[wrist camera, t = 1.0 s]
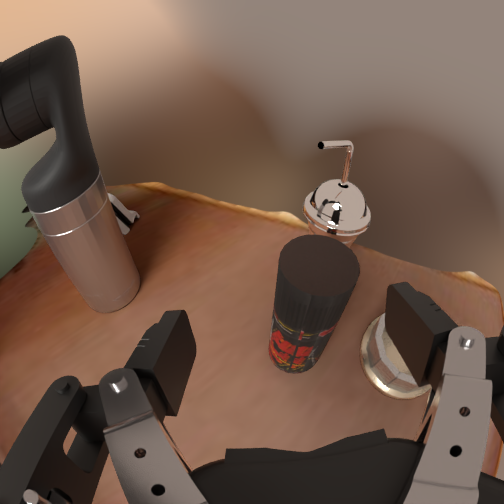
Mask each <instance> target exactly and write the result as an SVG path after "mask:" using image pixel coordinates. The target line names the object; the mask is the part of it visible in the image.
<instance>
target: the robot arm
mask: <svg viewBox="0 0 504 504" xmlns="http://www.w3.org/2000/svg"><path fill="white" fill-rule="evenodd" d="M53 127H54V128H55V130H56V141H55V142H54V144H53V145H52V147H51V148H50V150H49V151H48V152H47V153H46V154H45V156H44V157H42V158H41V160H39V161H38V162H37V163H36V164H35V165H34V166H33V167H32V168H31V170H30V171H29V172H28V173H27V175H26V176H25V178H24V180H23V182H22V194H23V197H24V199H25V201H26V203H27V205H28V208H29V209H30V211H31V213H32V215H33V217H34V219H35V221H36V223H37V225H38V227H39V229H40V230H41V232H42V234H43V236H44V237H45V239H46V241H47V243H48V244H49V246H50V248H51V249H52V251H53V253H54V254H55V256H56V258H57V259H58V261H59V263H60V264H61V266H62V267H63V269H64V270H65V272H66V273H67V275H68V277H69V278H70V280H71V281H72V282H73V284H74V285H75V287H76V288H77V290H78V291H79V293H80V294H81V296H82V297H83V298H84V300H85V301H86V302H87V304H88V305H89V306H90V307H91V308H92V309H93V310H95V311H98V312H102V313H109V312H113V311H116V310H119V309H121V308H123V307H124V306H126V305H127V304H128V303H129V302H130V301H131V300H132V299H133V298H134V297H135V295H136V293H137V292H138V290H139V286H140V275H139V272H138V270H137V268H136V265H135V263H134V261H133V259H132V256H131V254H130V251H129V249H128V246H127V244H126V241H125V239H124V236H123V234H122V231H121V229H120V226H119V224H118V221H117V218H116V216H115V213H114V210H113V208H112V205H111V202H110V199H109V196H108V193H107V191H106V188H105V185H104V182H103V179H102V176H101V172H100V169H99V166H98V163H97V160H96V157H95V153H94V151H93V147H92V143H91V139H90V136H89V132H88V127H87V123H86V118H85V114H84V108H83V100H82V93H81V85H80V76H79V69H78V61H77V57H76V53H75V49H74V46H73V44H72V42H71V41H70V39H69V38H67V37H66V36H56V37H53V38H50V39H48V40H45V41H43V42H41V43H38V44H36V45H34V46H32V47H30V48H28V49H26V50H24V51H22V52H20V53H18V54H16V55H14V56H12V57H11V58H9V59H7V60H5V61H4V62H0V148H1V149H6V148H10V147H13V146H16V145H18V144H20V143H22V142H24V141H25V140H28V139H30V138H32V137H34V136H36V135H38V134H40V133H42V132H44V131H46V130H48V129H50V128H53ZM385 328H386V332H387V334H388V335H389V337H390V339H391V340H392V342H393V344H394V345H395V347H396V349H397V350H398V352H399V354H400V355H401V357H402V359H403V361H404V362H405V364H406V366H407V367H408V369H409V371H410V373H411V375H412V376H413V378H414V380H415V382H416V384H417V385H418V387H422V386H425V385H428V384H430V385H431V387H432V388H431V391H430V394H429V397H428V400H427V404H426V407H425V410H424V413H423V416H422V419H421V422H420V425H419V428H418V431H417V433H416V436H415V438H414V440H409V439H402V438H387V437H386V434H385V431H384V429H380V430H376V431H372V432H368V433H364V434H360V435H355V436H351V437H347V438H344V439H342V440H339V441H337V442H334V443H332V444H329V445H327V446H324V447H322V448H319V449H316V450H313V451H310V452H296V451H286V450H278V449H270V448H246V449H226V454H225V459H221V460H217V461H214V462H210V463H208V464H205V465H203V466H201V467H199V468H196V469H195V470H192V468H191V467H190V465H189V464H188V463H187V461H186V460H185V458H184V456H183V455H182V453H181V452H180V450H179V448H178V447H177V445H176V443H175V442H174V440H173V438H172V437H171V435H170V433H169V431H168V430H167V428H166V426H165V424H164V423H163V421H164V418H165V416H177V414H178V411H179V407H180V404H181V401H182V398H183V395H184V391H185V388H186V385H187V382H188V379H189V376H190V372H191V369H192V366H193V363H194V360H195V357H196V343H195V339H194V336H193V333H192V329H191V326H190V323H189V319H188V316H187V313H186V311H185V310H173V311H166V312H165V313H164V314H163V316H162V318H161V319H160V321H159V323H155V324H154V325H153V326H151V327H150V328H149V329H148V330H147V331H146V332H145V334H144V335H143V337H142V338H141V340H140V342H139V343H138V345H137V347H136V348H135V350H134V351H133V353H132V355H131V356H130V358H129V360H128V361H127V363H126V365H125V366H124V368H119V369H115V370H113V371H110V372H109V373H107V374H106V375H105V376H104V377H103V378H102V379H101V380H100V383H99V385H93V386H86V387H83V386H82V385H81V383H80V382H79V380H78V379H77V378H76V377H74V376H64V377H61V378H59V379H57V380H56V381H54V382H53V383H52V384H51V386H50V387H49V388H48V390H47V391H46V393H45V394H44V396H43V397H42V399H41V400H40V402H39V403H38V405H37V406H36V408H35V410H34V411H33V413H32V414H31V416H30V417H29V419H28V421H27V422H26V424H25V425H24V427H23V429H22V430H21V432H20V434H19V435H18V437H17V439H16V441H15V442H14V444H13V446H12V448H11V449H10V451H9V453H8V455H7V457H6V458H5V460H4V462H3V464H2V466H1V468H0V504H92V501H93V498H94V495H95V491H96V488H97V485H98V482H99V479H100V477H101V474H102V471H103V468H104V465H105V462H106V460H107V457H108V454H109V453H110V456H111V459H112V462H113V465H114V468H115V471H116V473H117V476H118V479H119V481H120V484H121V486H122V489H123V491H124V494H125V496H126V498H127V501H128V503H129V504H504V481H503V480H500V479H498V478H495V477H493V476H490V475H488V474H486V473H483V472H481V468H482V463H483V459H484V454H485V449H486V443H487V437H488V430H489V423H490V417H491V419H492V421H493V423H494V425H495V426H496V428H497V430H498V432H499V434H500V436H501V438H502V441H503V443H504V326H503V328H502V330H501V333H500V336H499V337H490V338H485V337H484V335H483V334H482V333H481V332H480V331H479V330H477V329H475V328H472V327H468V326H461V327H458V325H457V324H456V323H455V322H454V321H453V320H452V319H451V318H450V317H449V316H448V315H447V314H446V313H445V312H444V311H443V310H441V308H440V307H439V306H438V305H436V303H435V302H434V301H433V300H432V299H431V298H430V297H429V296H427V295H425V294H423V293H421V292H417V291H416V290H415V289H414V288H413V287H412V286H411V285H410V284H409V283H408V282H402V283H397V284H391V285H389V286H388V289H387V299H386V310H385ZM71 426H72V427H73V429H74V430H75V431H76V432H77V434H76V436H75V439H74V441H73V443H72V445H71V447H70V449H69V451H68V454H67V456H66V454H65V453H64V450H63V442H64V440H65V438H66V436H67V434H68V432H69V430H70V428H71Z"/></svg>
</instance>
